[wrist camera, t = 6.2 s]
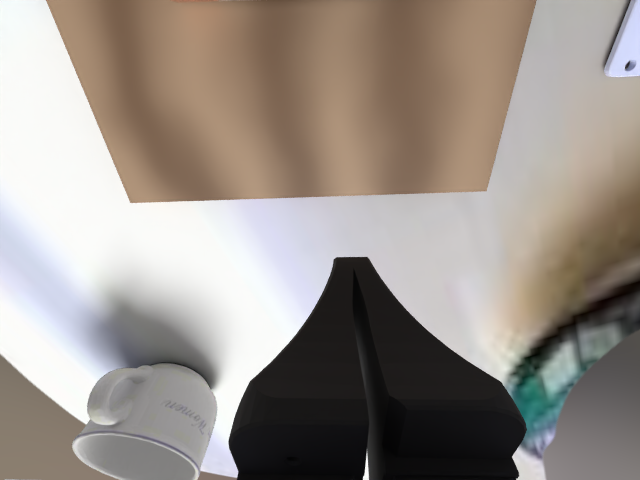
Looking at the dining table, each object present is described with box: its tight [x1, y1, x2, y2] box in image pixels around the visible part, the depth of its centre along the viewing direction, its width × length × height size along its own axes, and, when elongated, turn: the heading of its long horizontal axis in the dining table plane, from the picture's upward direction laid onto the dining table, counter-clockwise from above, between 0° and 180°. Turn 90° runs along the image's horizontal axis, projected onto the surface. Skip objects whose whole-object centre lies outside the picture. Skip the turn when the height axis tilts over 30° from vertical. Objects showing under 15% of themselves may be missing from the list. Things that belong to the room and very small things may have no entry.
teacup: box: [72, 363, 217, 480], centre depth 28 cm, size 14×11×8 cm
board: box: [46, 0, 536, 203], centre depth 15 cm, size 23×20×1 cm
